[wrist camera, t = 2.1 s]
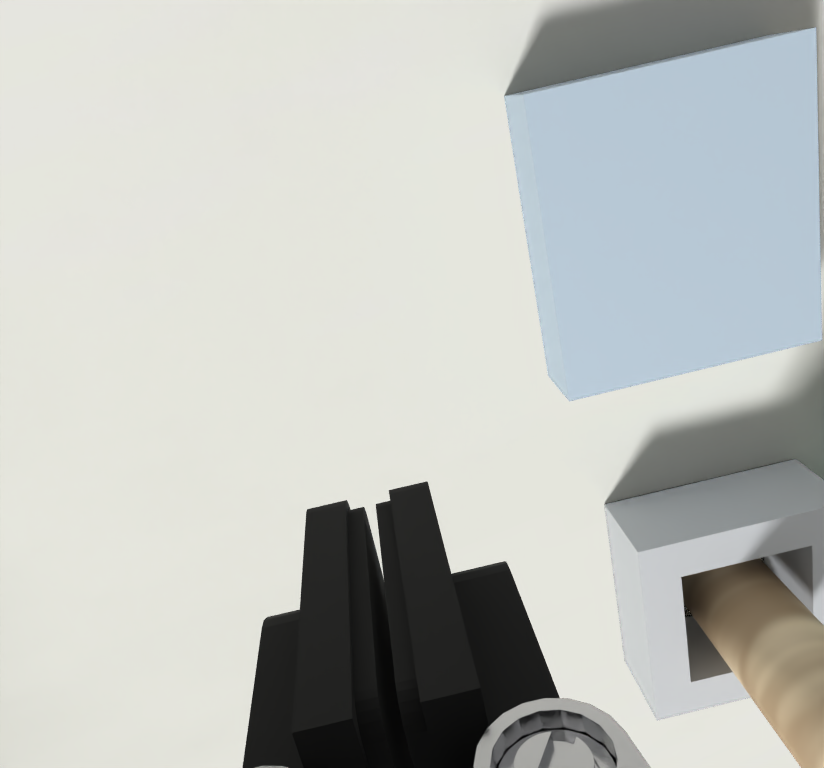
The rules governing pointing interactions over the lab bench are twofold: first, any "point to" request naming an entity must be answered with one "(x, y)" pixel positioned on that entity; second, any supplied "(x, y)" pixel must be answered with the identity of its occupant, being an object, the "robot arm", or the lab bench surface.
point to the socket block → (701, 551)
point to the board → (673, 212)
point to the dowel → (766, 648)
